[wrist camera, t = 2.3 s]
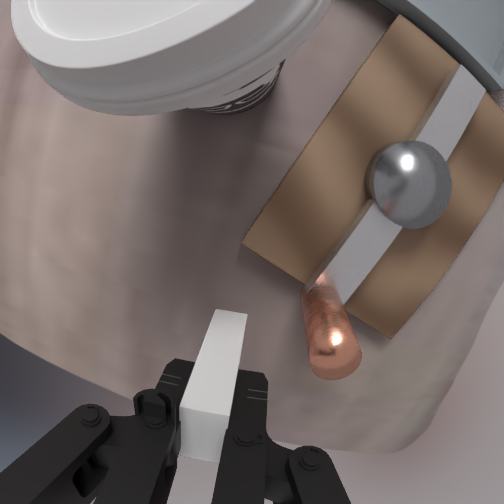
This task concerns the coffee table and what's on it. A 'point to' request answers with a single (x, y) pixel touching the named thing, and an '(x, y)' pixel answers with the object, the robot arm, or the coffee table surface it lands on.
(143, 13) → the coffee cup
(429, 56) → the crank base
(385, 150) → the crank
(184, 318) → the coffee table surface
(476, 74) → the tray
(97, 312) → the coffee table surface
